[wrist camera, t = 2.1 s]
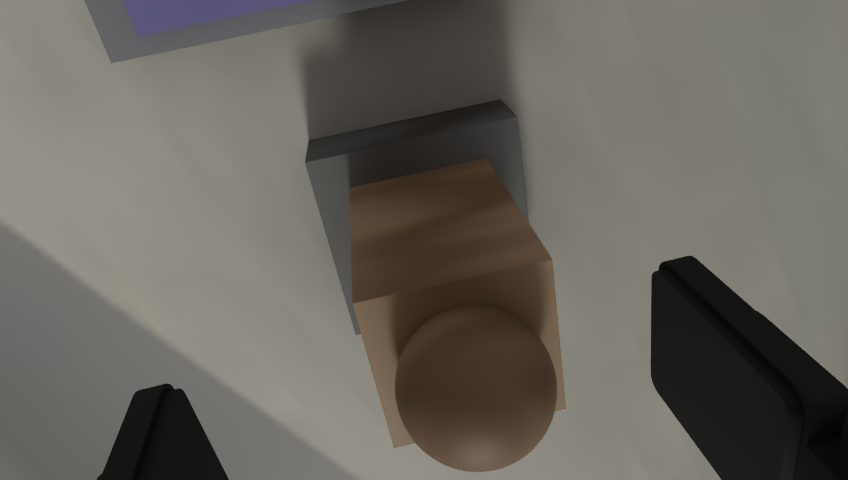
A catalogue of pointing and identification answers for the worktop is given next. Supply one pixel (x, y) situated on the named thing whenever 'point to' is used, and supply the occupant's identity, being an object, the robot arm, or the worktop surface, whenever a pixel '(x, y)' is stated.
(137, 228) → the worktop surface
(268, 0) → the ink pad
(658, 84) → the worktop surface
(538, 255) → the stamp
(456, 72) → the worktop surface
